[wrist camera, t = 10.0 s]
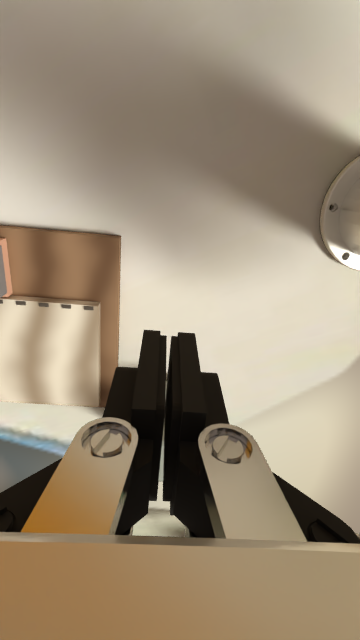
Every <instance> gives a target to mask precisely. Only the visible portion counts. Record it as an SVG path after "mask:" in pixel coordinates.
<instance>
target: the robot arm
mask: <svg viewBox="0 0 360 640" xmlns="http://www.w3.org/2000/svg"><path fill="white" fill-rule="evenodd" d="M330 205H332V207H331V209H329V207H330ZM320 227H321V235H322V238H323V242H324V244H325V246H326V248H327V250H328V251H329V253H330V254H331V255H332V256H333V257H334V258H335V259H336V260H337V261H339V262H340V263H342V264H343V265H345V266H347V267H349V268H351V269H355V270H358V271H360V156H358V157H357V158H356V159H354V160H353V161H352V162H350V163H349V164H348V165H347V166H346V167H345V168H344V169H343V170H342V171H341V172H340V173H339V174H338V176H337V177H336V179H335V180H334V181H333V183H332V184H331V186H330V188H329V190H328V192H327V194H326V196H325V199H324V202H323V206H322V209H321V217H320ZM343 253H344V255H343V256H342V254H343ZM166 337H167V336H162V335H160V331H153V330H144V333H143V339H142V345H141V352H140V358H139V364H138V368H128V367H116V369H115V373H114V376H113V380H112V384H111V388H110V391H109V395H108V399H107V402H106V406H105V410H104V414H103V417H102V418H99V419H96V420H93V421H90V422H88V423H87V424H85V425H84V426H83V427H81V429H80V430H79V431H78V432H77V434H76V435H75V437H74V439H73V441H72V442H71V444H70V446H69V448H68V449H67V451H66V453H65V455H64V456H63V458H61V459H60V460H58V461H56V462H54V463H53V464H51V465H49V466H47V467H46V468H44V469H42V470H40V471H38V472H37V473H35V474H33V475H31V476H30V477H28V478H26V479H24V480H22V481H21V482H19V483H17V484H16V485H14V486H12V487H10V488H8V489H7V490H5V491H3V492H1V493H0V640H360V533H359V534H357V533H354V531H353V530H352V529H351V528H350V527H349V526H348V525H347V524H346V523H344V522H343V521H342V520H341V519H339V518H338V517H336V516H335V515H334V514H332V513H331V512H329V511H328V510H326V509H325V508H323V507H322V506H321V505H319V504H318V503H316V502H315V501H313V500H312V499H311V498H309V497H308V496H306V495H305V494H303V493H302V492H300V491H299V490H298V489H296V488H294V487H293V486H292V485H290V484H289V483H287V482H286V481H285V480H283V479H282V478H280V477H279V476H277V475H276V474H275V473H273V472H272V471H271V469H270V467H269V465H268V463H267V461H266V459H265V457H264V455H263V453H262V452H261V450H260V448H259V446H258V444H257V442H256V441H255V440H254V438H253V436H252V435H250V434H249V433H248V432H246V431H245V430H243V429H242V428H240V427H238V426H234V425H230V424H229V421H228V417H227V412H226V408H225V404H224V399H223V395H222V391H221V386H220V382H219V378H218V375H217V373H205V372H201V371H200V364H199V358H198V351H197V345H196V338H195V333H181V332H178V337H176V336H172V337H171V347H170V357H169V368H168V378H167V389H166ZM165 390H166V399H165ZM163 428H164V465H163V501H170V515H175V516H176V517H177V518H178V519H179V520H180V521H181V522H182V523H183V524H184V525H185V537H161V536H132V533H133V525H134V524H136V523H137V522H138V521H139V520H140V519H142V518H143V517H144V516H145V515H146V514H147V513H148V505H149V501H156V500H157V490H158V480H159V470H160V460H161V449H162V439H163Z"/></svg>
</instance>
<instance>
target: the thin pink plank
mask: <svg viewBox="0 0 360 640" xmlns="http://www.w3.org/2000/svg"><path fill="white" fill-rule="evenodd" d="M12 293H13V292H12V284H11V275H10V266H9V258H8V249H7V241H6V238H0V298H1V297H9V296H10V295H11V294H12Z"/></svg>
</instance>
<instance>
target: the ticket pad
mask: <svg viewBox="0 0 360 640" xmlns="http://www.w3.org/2000/svg"><path fill="white" fill-rule="evenodd" d="M0 238H6V241H7V249H8V258H9V266H10V275H11V284H12V292H13V293H12V294H11V295H10V296H9V297H1V298H0V402H17V403H35V404H52V405H70V406H87V407H105V406H106V402H107V399H108V395H109V391H110V388H111V384H112V380H113V376H114V373H115V369H116V367H118V349H119V304H120V259H121V236H115V235H104V234H93V233H81V232H70V231H59V230H48V229H37V228H26V227H15V226H3V225H0Z"/></svg>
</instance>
